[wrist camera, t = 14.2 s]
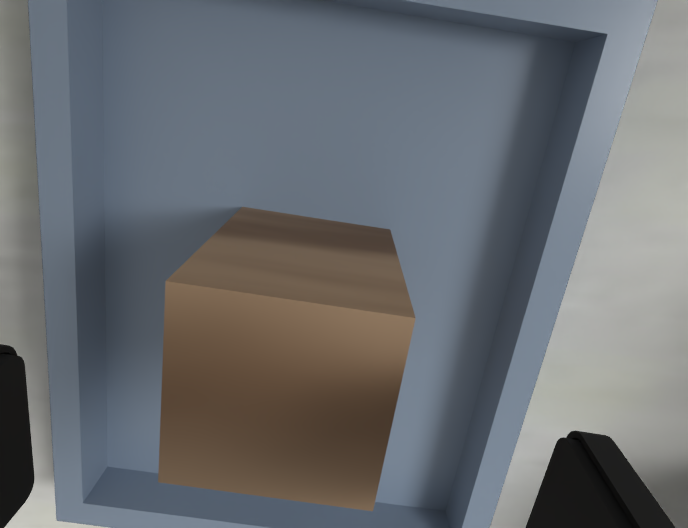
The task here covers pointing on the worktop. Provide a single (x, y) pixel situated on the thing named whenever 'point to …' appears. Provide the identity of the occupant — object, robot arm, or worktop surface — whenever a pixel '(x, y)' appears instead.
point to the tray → (318, 214)
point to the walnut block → (284, 360)
